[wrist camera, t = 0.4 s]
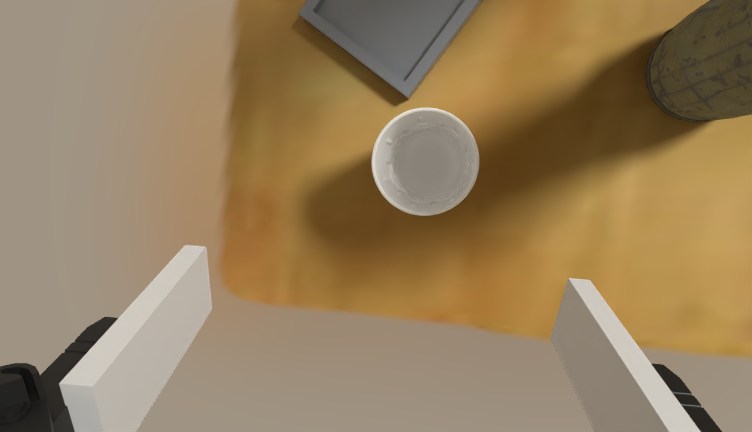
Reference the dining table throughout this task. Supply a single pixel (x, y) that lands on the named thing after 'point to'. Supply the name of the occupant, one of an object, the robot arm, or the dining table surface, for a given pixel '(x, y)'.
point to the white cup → (425, 161)
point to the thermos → (705, 64)
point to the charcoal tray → (392, 33)
